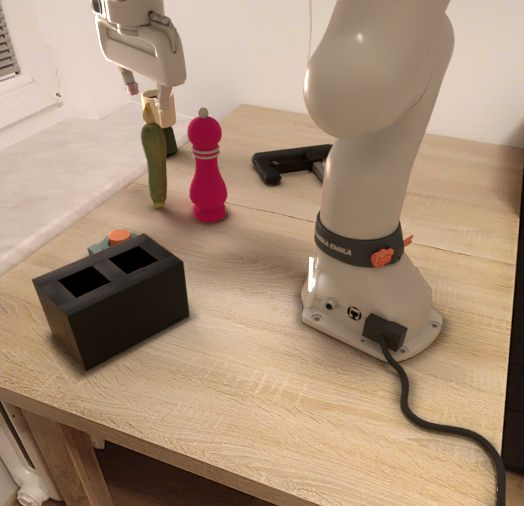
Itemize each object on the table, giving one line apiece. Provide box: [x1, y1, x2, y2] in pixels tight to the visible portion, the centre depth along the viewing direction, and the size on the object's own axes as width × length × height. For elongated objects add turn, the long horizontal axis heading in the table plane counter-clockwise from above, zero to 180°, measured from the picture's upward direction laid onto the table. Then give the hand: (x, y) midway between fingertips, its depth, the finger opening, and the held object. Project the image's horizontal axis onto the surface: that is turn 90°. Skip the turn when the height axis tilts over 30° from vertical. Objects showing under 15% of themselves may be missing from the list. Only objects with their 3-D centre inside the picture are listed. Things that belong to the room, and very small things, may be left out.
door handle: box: [251, 143, 334, 186], centre depth 111 cm, size 3×20×16 cm
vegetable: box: [140, 103, 168, 209], centre depth 93 cm, size 4×4×20 cm
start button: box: [107, 228, 131, 246], centre depth 83 cm, size 4×4×2 cm
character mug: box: [140, 88, 178, 155], centre depth 114 cm, size 11×7×13 cm, turn 15°
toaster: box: [31, 232, 190, 372], centre depth 71 cm, size 10×18×10 cm, turn 133°
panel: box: [86, 231, 139, 256], centre depth 85 cm, size 10×8×4 cm
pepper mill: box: [186, 107, 228, 223], centre depth 91 cm, size 7×7×20 cm
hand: (147, 101), depth 87 cm, fingers open, 8 cm apart
